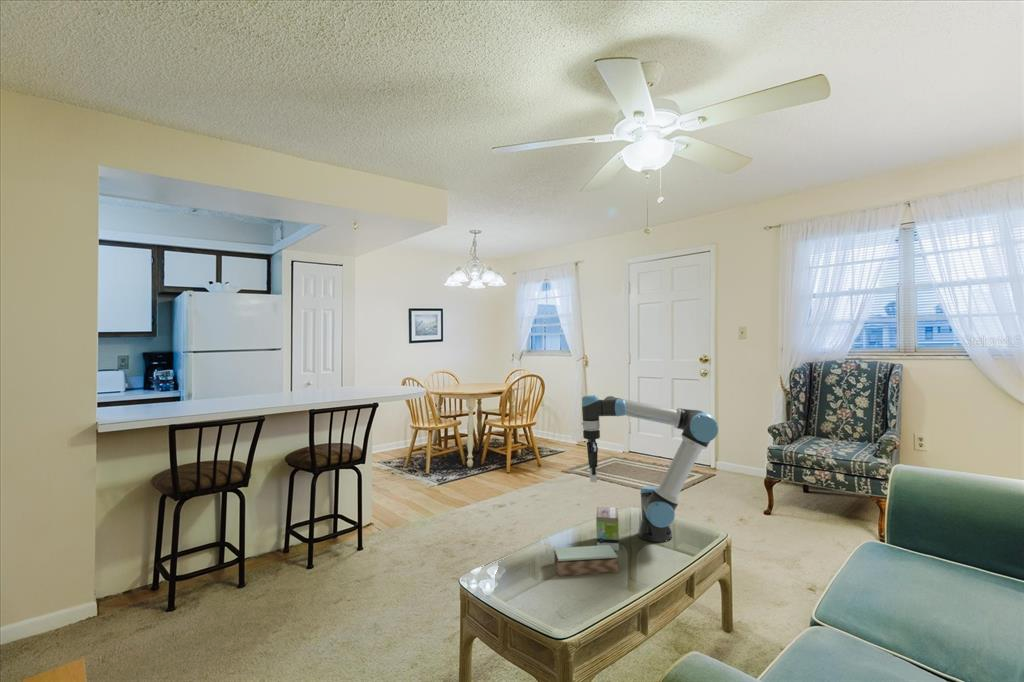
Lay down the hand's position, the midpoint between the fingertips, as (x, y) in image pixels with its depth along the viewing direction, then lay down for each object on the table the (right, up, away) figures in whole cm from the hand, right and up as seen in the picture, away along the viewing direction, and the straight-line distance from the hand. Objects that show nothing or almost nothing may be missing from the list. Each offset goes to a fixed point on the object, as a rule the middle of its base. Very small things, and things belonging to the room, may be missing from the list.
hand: (593, 481), depth 217 cm
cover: (-7, -24, -21) cm, 32 cm away
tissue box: (-7, -29, -21) cm, 37 cm away
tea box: (+7, -30, +2) cm, 30 cm away
